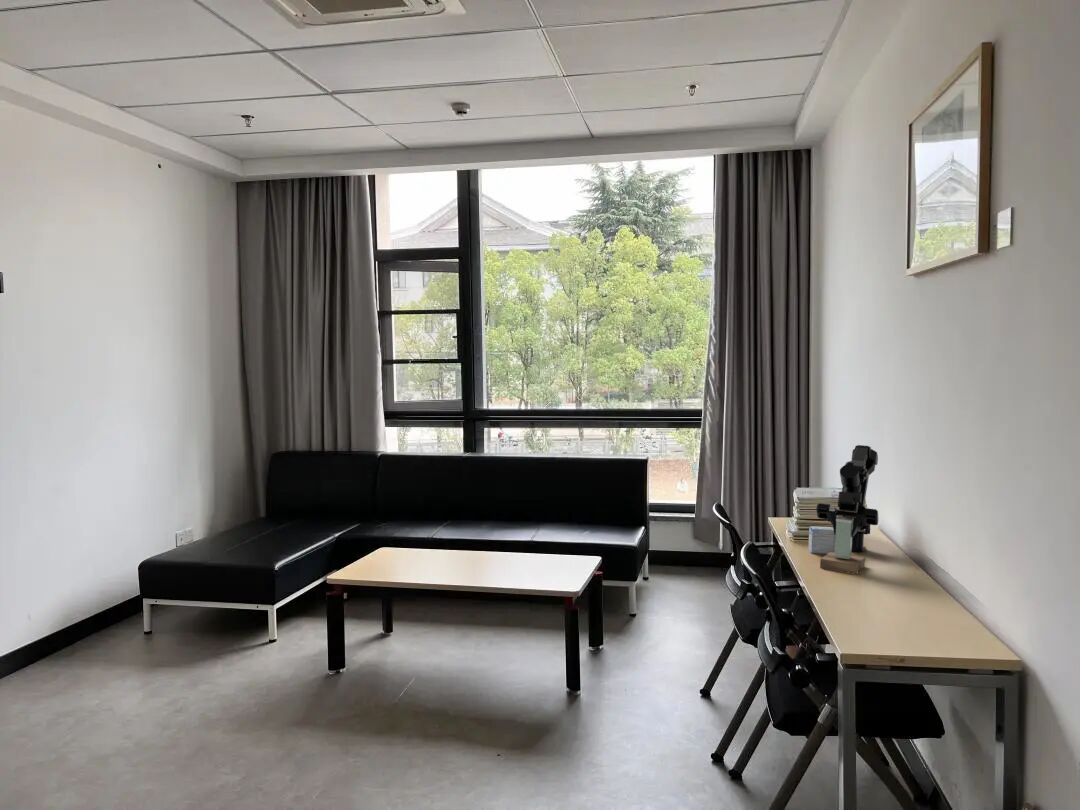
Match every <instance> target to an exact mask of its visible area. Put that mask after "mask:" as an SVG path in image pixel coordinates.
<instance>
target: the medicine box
mask: <svg viewBox="0 0 1080 810" xmlns="http://www.w3.org/2000/svg"><path fill="white" fill-rule="evenodd" d="M835 538H836V535H834V530H833V526H814V525H813V526H811V525H810V526H809V529H808V547H807V548H808V551H809V552H810V553H811V554H821V555H822V554H825V555H827V554H828V553H829V552H835Z"/></svg>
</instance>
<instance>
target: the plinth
mask: <svg viewBox="0 0 1080 810" xmlns="http://www.w3.org/2000/svg"><path fill="white" fill-rule="evenodd" d="M819 561H820V564H819V568H820V569H825V570H829V569H830V571H835V570H836V572H840V571H843V572H842V573H845V572H849V573H848V574H851V573H854V574H853V575H857V574H858V573H859V572H860V571H861V570H863V568H865V567H864V566H866V563H865V562H866V557H863V556H859V555H858V556H857V555H852V554H851V557H850V559H842V558H836V557H835V551H834V552H829V553H828V554H825V555H824V556H823V557H821V558H820V560H819ZM859 570H860V571H859ZM858 571H859V572H858ZM857 572H858V573H857ZM856 573H857V574H856Z"/></svg>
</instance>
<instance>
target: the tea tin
mask: <svg viewBox="0 0 1080 810" xmlns="http://www.w3.org/2000/svg"><path fill="white" fill-rule="evenodd" d="M853 520H854V518H850V517H842V516H838V515H837V518H836V535H835V549H834V552H835V557H836V558H842V559H850V557H851V555H852V537H851V534H852V529H853Z"/></svg>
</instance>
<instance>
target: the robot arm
mask: <svg viewBox="0 0 1080 810" xmlns="http://www.w3.org/2000/svg"><path fill="white" fill-rule="evenodd" d="M878 461H879V456H878V452H877V451H876V450H874V449H872V447H871V446H870V445H863V444H862V445H861V444H857V445H855V446H854V449H852V453H851V460H849V461H846V463H845V464H844V465H843V466H841V467H840V469H839V476H840V482H841V485H842V489H841V491H838V498H837V507H838V508H836V507H835V506H834V507H833V506H831V503H824V502H818V503H817V504H816V508H815V509H816V515H817V518H818V519H822V520H827V521H828V522H830V523H831V525H832V526H831V527H832V528H833V530H834V535H835V536H836V518H837V517H838V516H841V517H850V518H854V520H853V529H852V534H851V537H852V551H853V552H859V553H862V552H863V551H865V550H866V549H867V547H866V546H864V539H865V535H866V536H867V535H871V526H877V525H879V520H880V519H879V511H878V510H877V509H876V508H868V507H865V503H866V497H867V490H868V484H869V477H870V475H871V474H872V473H874V472H875V470H876V469H875V468H876V466H877V465H878Z"/></svg>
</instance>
